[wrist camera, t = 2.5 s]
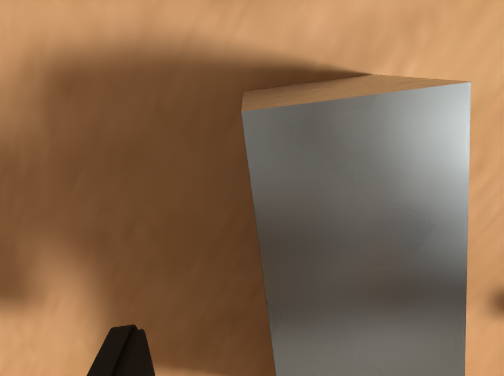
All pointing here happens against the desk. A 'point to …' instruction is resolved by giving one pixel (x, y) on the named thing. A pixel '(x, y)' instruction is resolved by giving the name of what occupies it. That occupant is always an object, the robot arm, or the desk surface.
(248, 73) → the desk surface
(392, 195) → the bracket block
